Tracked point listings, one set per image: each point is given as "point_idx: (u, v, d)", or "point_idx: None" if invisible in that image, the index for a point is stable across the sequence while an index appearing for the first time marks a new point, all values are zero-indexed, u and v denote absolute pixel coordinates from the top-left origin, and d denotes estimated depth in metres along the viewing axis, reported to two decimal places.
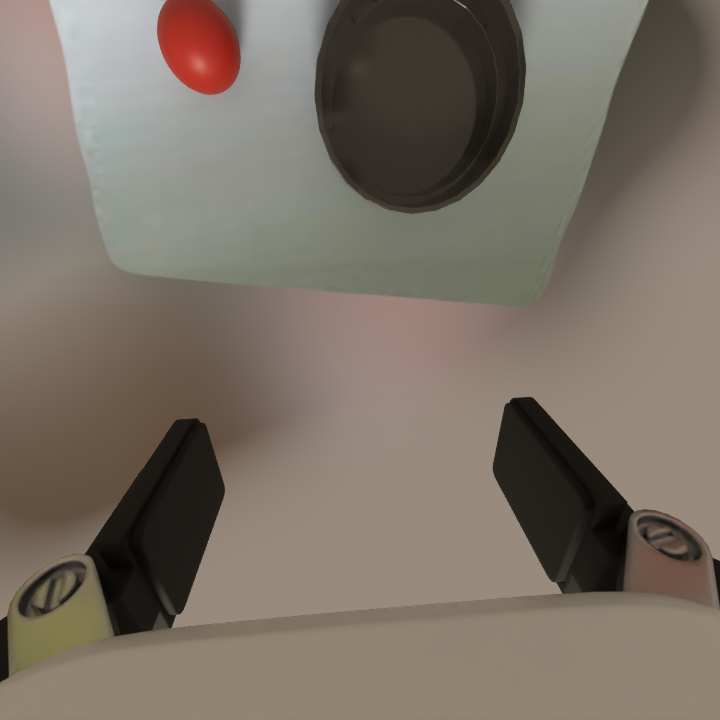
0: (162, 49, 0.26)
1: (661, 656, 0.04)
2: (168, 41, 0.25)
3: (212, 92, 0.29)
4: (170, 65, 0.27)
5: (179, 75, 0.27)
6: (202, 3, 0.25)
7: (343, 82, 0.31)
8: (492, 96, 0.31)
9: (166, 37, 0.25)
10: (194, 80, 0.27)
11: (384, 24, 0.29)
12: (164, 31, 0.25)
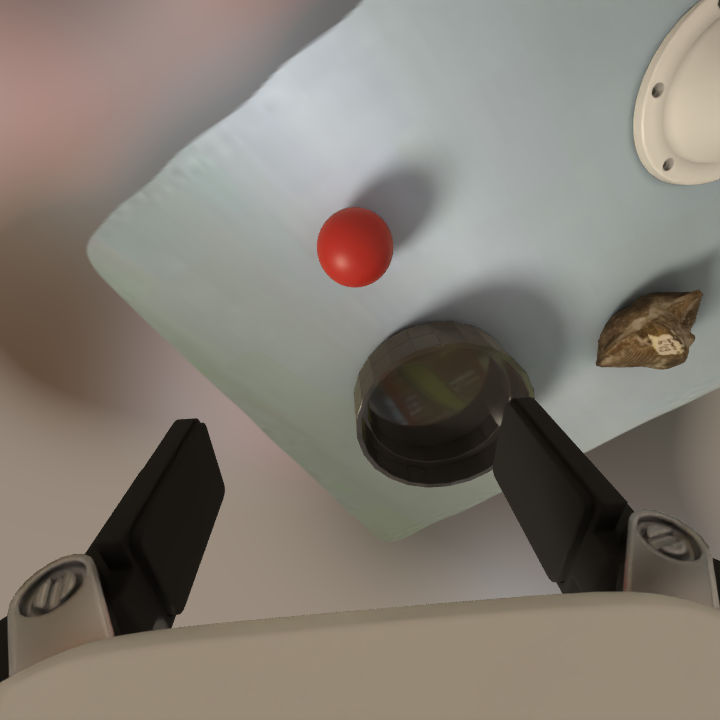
0: (328, 231, 0.25)
1: (661, 656, 0.04)
2: (339, 241, 0.24)
3: (330, 277, 0.28)
4: (322, 243, 0.25)
5: (320, 253, 0.26)
6: (386, 248, 0.25)
7: None
8: (477, 439, 0.38)
9: (340, 237, 0.24)
10: (327, 269, 0.26)
11: None
12: (343, 233, 0.24)
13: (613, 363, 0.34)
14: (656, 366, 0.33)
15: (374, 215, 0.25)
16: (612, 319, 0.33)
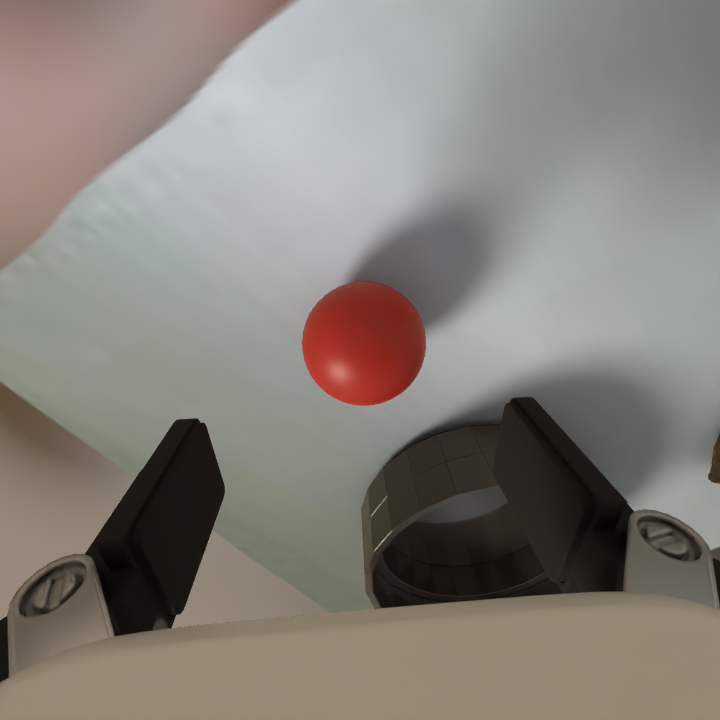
0: (318, 330, 0.15)
1: (661, 656, 0.04)
2: (336, 350, 0.14)
3: None
4: (308, 346, 0.15)
5: (307, 359, 0.16)
6: (417, 356, 0.15)
7: None
8: (531, 567, 0.28)
9: (338, 345, 0.14)
10: (319, 384, 0.16)
11: None
12: (343, 338, 0.14)
13: None
14: None
15: (396, 300, 0.15)
16: None
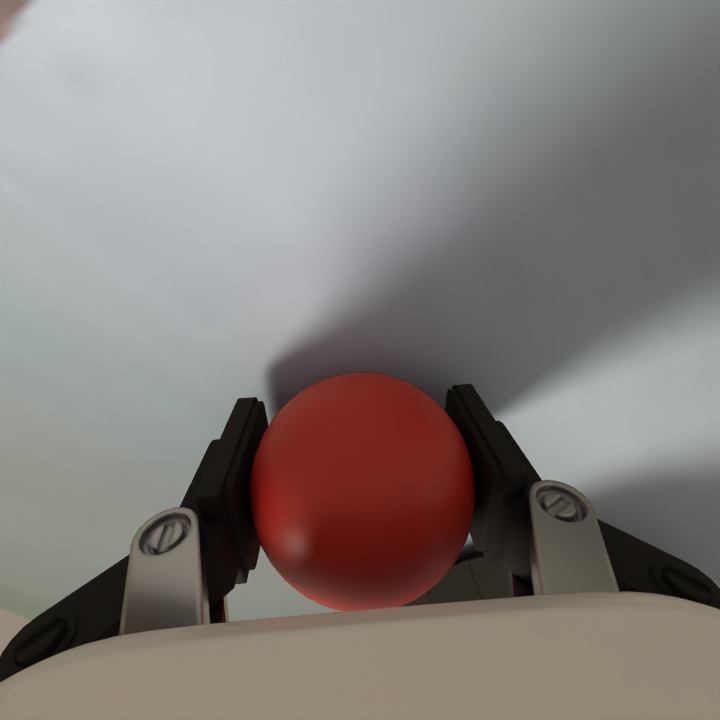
0: (273, 494, 0.07)
1: (661, 656, 0.04)
2: (307, 547, 0.07)
3: None
4: (256, 514, 0.08)
5: (256, 531, 0.08)
6: (466, 531, 0.08)
7: None
8: None
9: (312, 537, 0.07)
10: None
11: None
12: (322, 525, 0.07)
13: None
14: None
15: (426, 427, 0.08)
16: None
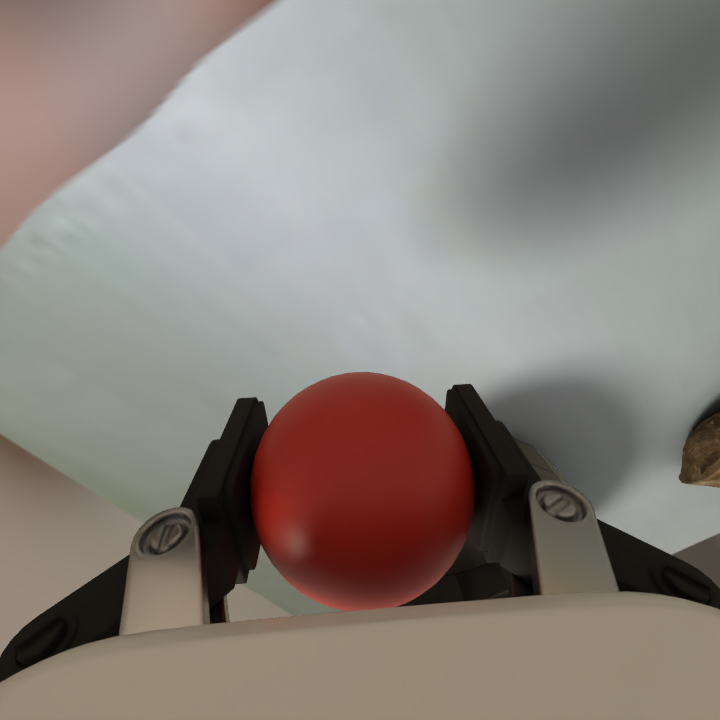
0: (273, 493, 0.07)
1: (661, 656, 0.04)
2: (307, 546, 0.07)
3: None
4: (257, 513, 0.08)
5: (257, 530, 0.08)
6: (465, 530, 0.08)
7: None
8: None
9: (312, 537, 0.07)
10: None
11: None
12: (322, 524, 0.07)
13: (710, 485, 0.24)
14: None
15: (426, 426, 0.08)
16: (710, 425, 0.23)
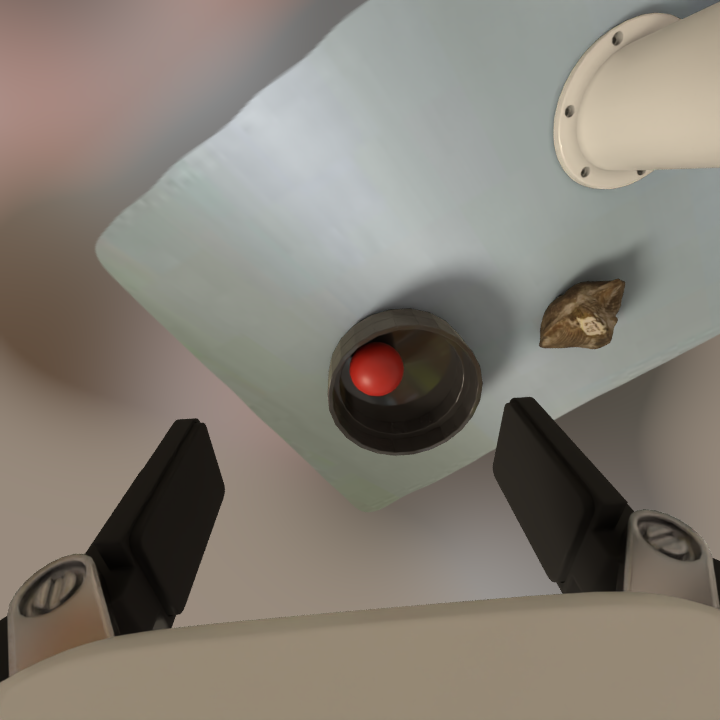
0: None
1: (661, 656, 0.04)
2: None
3: None
4: None
5: None
6: (378, 358, 0.35)
7: None
8: (439, 414, 0.43)
9: (357, 350, 0.38)
10: None
11: (425, 330, 0.40)
12: None
13: (552, 344, 0.39)
14: (589, 346, 0.38)
15: (386, 344, 0.37)
16: (550, 305, 0.38)
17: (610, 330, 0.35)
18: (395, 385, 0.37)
